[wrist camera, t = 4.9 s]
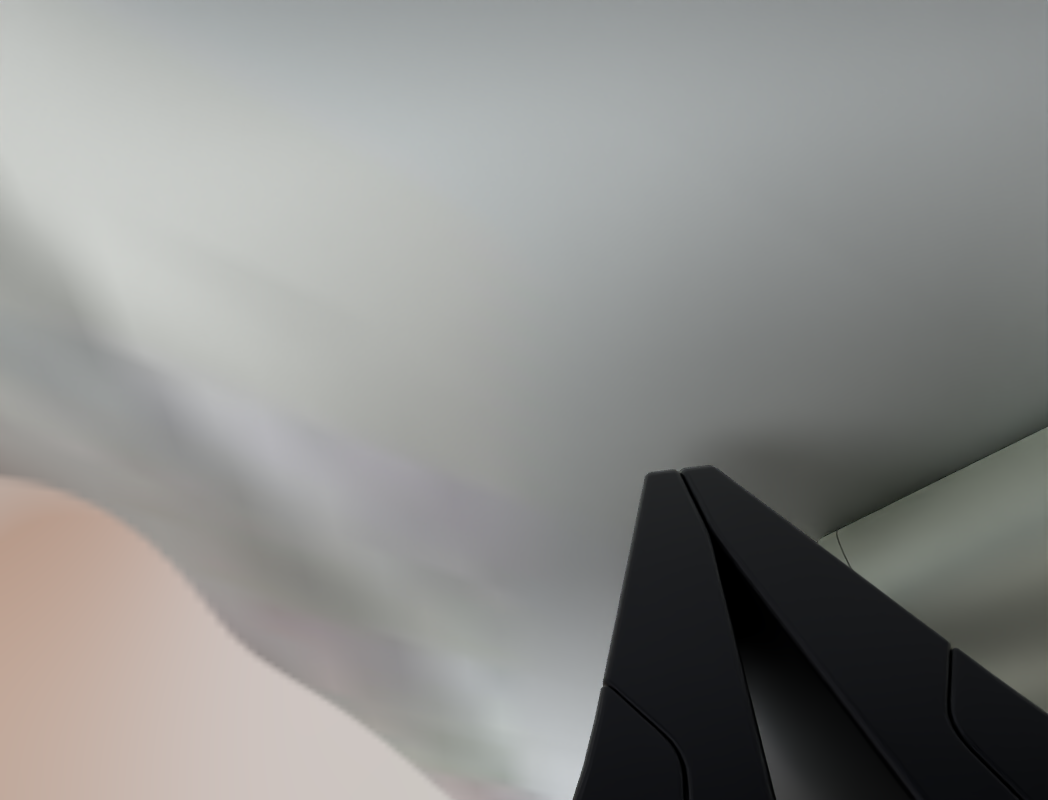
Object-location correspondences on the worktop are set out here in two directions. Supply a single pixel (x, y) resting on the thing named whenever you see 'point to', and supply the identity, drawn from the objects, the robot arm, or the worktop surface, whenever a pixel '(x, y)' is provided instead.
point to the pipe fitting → (970, 560)
